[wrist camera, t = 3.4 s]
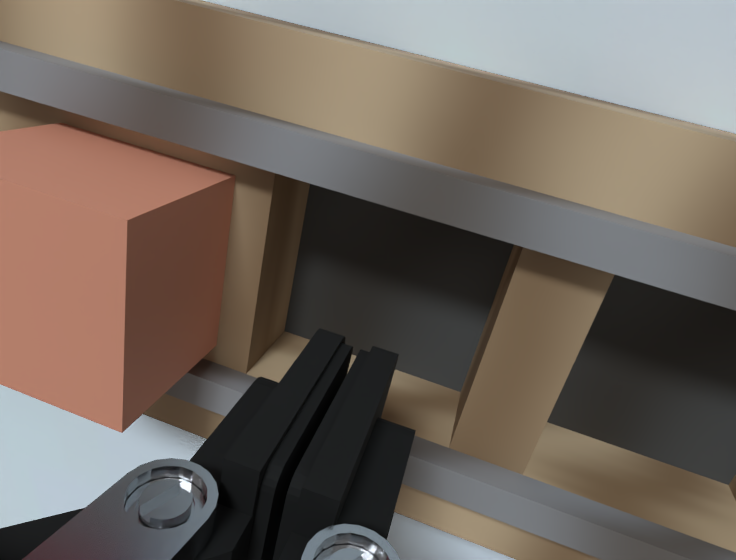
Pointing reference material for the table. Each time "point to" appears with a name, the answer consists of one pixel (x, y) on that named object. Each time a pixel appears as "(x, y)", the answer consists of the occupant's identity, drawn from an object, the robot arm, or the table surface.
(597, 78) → the table surface
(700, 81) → the table surface
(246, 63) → the track
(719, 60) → the table surface
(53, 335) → the block
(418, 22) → the table surface
